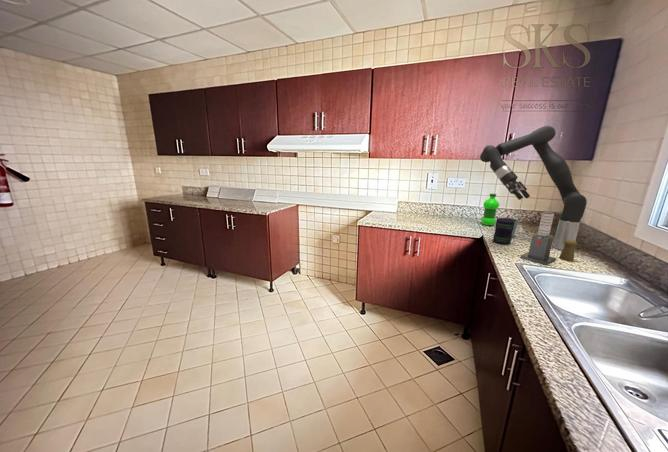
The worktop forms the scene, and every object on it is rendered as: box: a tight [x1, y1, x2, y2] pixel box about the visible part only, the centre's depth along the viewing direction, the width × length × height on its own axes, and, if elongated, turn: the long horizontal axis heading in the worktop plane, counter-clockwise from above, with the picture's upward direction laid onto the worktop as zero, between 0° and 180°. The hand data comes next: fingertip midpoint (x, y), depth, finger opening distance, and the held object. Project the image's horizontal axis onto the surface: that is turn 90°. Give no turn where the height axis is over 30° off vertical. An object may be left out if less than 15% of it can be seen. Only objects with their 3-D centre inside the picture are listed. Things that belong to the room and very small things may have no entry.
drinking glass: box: [504, 217, 519, 239], centre depth 179 cm, size 10×10×12 cm
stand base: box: [519, 232, 557, 266], centre depth 139 cm, size 12×12×14 cm
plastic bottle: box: [480, 193, 500, 226], centre depth 205 cm, size 10×10×25 cm
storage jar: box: [492, 217, 515, 246], centre depth 165 cm, size 10×10×15 cm
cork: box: [558, 239, 578, 263], centre depth 139 cm, size 6×6×11 cm
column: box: [537, 210, 555, 237], centre depth 136 cm, size 4×4×20 cm
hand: (524, 198), depth 141 cm, fingers open, 8 cm apart
